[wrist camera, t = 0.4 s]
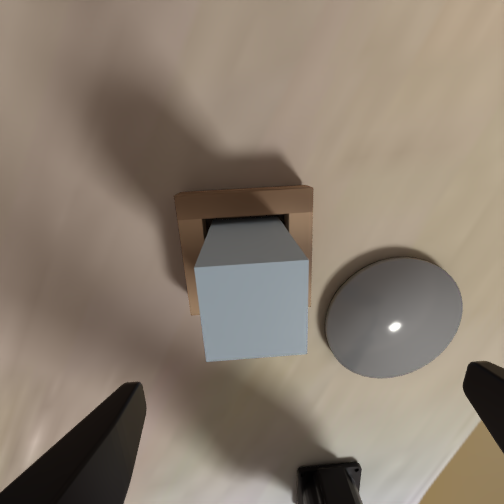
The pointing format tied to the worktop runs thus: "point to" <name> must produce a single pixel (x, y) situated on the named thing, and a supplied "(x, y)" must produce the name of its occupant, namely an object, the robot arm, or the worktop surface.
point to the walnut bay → (235, 205)
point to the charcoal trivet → (393, 317)
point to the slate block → (252, 290)
